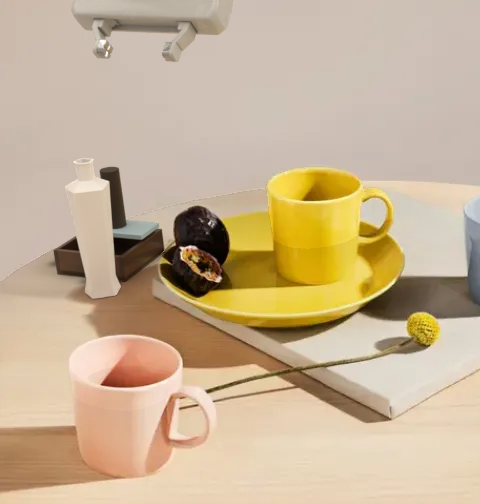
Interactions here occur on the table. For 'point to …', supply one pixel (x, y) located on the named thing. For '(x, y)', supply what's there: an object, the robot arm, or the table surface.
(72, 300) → the table surface
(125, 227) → the dark cylinder on slab
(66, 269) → the dark brown square tray
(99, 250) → the white faceted vase
